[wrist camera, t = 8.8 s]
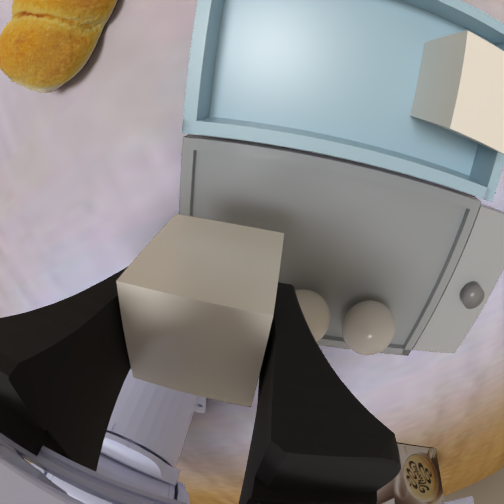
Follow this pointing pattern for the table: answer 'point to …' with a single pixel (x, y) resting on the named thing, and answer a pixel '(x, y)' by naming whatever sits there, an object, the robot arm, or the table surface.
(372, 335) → the pebble
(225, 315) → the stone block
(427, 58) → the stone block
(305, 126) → the blue bin
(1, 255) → the table surface
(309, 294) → the pebble
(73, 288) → the table surface
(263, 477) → the robot arm
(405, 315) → the slate tray
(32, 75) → the bread roll
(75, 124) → the table surface
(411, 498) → the coffee box
